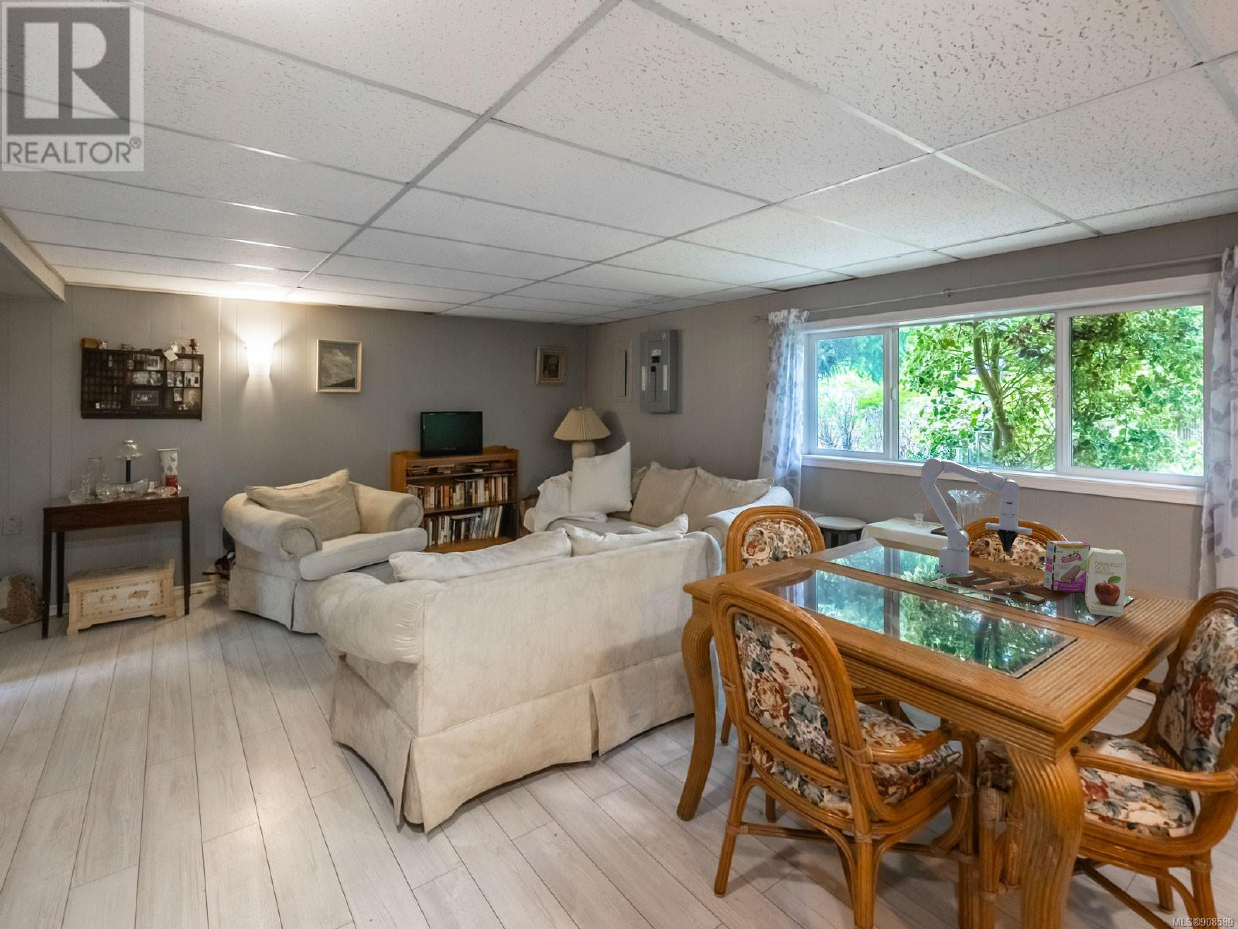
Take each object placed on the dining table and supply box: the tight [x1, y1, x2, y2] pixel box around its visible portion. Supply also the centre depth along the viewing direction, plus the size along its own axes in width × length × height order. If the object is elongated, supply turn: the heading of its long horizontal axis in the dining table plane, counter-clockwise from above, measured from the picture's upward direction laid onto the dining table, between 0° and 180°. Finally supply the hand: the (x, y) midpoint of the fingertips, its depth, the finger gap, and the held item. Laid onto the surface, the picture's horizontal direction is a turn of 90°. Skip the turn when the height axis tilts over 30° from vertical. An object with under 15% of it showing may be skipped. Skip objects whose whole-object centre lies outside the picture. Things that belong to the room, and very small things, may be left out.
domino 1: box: [946, 573, 978, 583], centre depth 207 cm, size 2×5×8 cm
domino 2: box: [960, 576, 994, 586], centre depth 203 cm, size 2×5×8 cm
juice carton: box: [1084, 547, 1127, 618], centre depth 178 cm, size 8×9×19 cm
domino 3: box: [976, 580, 1011, 590], centre depth 199 cm, size 2×5×8 cm
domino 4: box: [993, 583, 1028, 594], centre depth 194 cm, size 2×5×8 cm
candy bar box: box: [1043, 540, 1091, 593], centre depth 201 cm, size 11×5×16 cm, turn 84°
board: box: [931, 576, 1014, 601], centre depth 203 cm, size 25×11×1 cm, turn 33°
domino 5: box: [1009, 591, 1046, 605], centre depth 190 cm, size 2×5×8 cm
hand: (1007, 551), depth 215 cm, fingers closed
